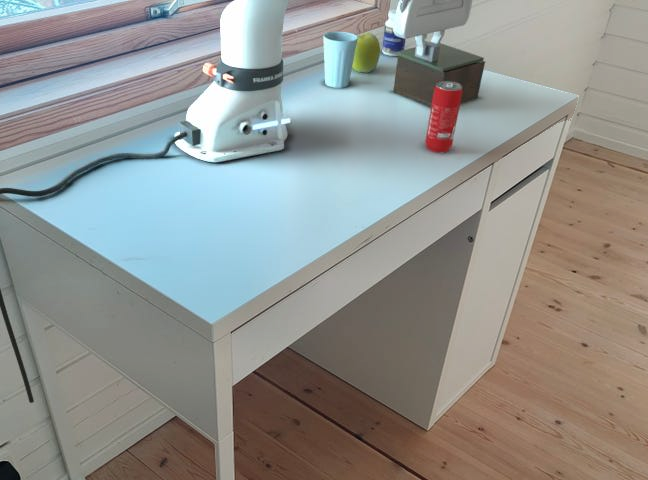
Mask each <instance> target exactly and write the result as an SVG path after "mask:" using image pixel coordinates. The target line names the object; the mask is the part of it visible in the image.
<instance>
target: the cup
mask: <svg viewBox="0 0 648 480" xmlns="http://www.w3.org/2000/svg"><path fill="white" fill-rule="evenodd" d="M357 36H358V35H356V34H354V33H352V32H347V31H329V32H326V33H324V34H323V57H324V58H323V59H324V60H323V61H324V62H323V63H324V81H325V82H324V83H325V85H326V86H328V87H330V88H334V89H342V88H347V87H349V84H350V79H351V76H352V75H351V74H352V71H353V70H352V69H353V67H352V65H353V60H354V55H355V50H356V45H357V40H358V37H357Z"/></svg>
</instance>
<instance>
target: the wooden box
mask: <svg viewBox="0 0 648 480" xmlns="http://www.w3.org/2000/svg"><path fill="white" fill-rule="evenodd" d="M485 64H486V61H485V60H483V61H480V62H476V63H472V64H469V65H465V66H462V67H458V68H454V69H451V70H447V71H444V72H442V71H439V70H436V69H434V68H431V67H428V66H425V65H423V64H420V63H417V62H415V61H412V60H409V59H406V58H404V57H401V56H397V60H396V69H395V76H394V82H393V90H392V92H393V93H394V94H397V95H400V96H402V97H405V98H407V99H409V100H412V101H414V102H416V103H419V104H422V105H424V106H427V107H429V108H431V105H432V99H433V93H434V88H435V87H436V84H437V83H438V82H442V81H450V82H455V83H458V84H460V85H461V86H462V91H463V92H462V97H461V102H460V104H463V103H466V102H469V101H472V100H475V99H478V97H479V93H480V87H481V83H482V78H483V74H484V69H485Z"/></svg>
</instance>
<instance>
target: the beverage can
mask: <svg viewBox="0 0 648 480" xmlns="http://www.w3.org/2000/svg"><path fill="white" fill-rule="evenodd" d="M462 92H463V91H462V86H461V85H460V84H458V83H455V82H450V81H442V82H438V83H437V84H436V87H435V88H434V93H433V99H432V105H431V107H430V112H429V116H428V122H427V129H426V135H425V145H426V149H427V150H428V151H430V152H432V153H437V154H441V153H442V154H443V153H447V152H449V151H450V148H451V147H452V145H453V143H454V137H455V131H456V129H457V128H456V127H457V122H458V117H459V111H460V108H461V103H460V102H461V97H462Z"/></svg>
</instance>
